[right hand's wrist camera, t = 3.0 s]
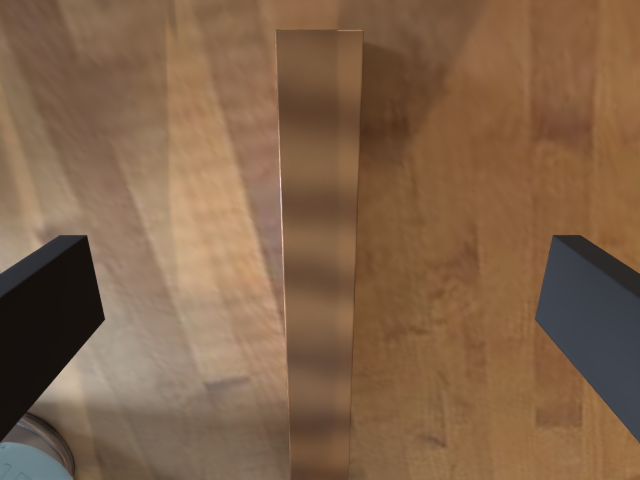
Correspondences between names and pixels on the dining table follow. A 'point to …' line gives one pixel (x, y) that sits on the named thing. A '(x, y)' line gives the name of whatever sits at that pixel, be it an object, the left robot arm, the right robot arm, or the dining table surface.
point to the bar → (319, 239)
